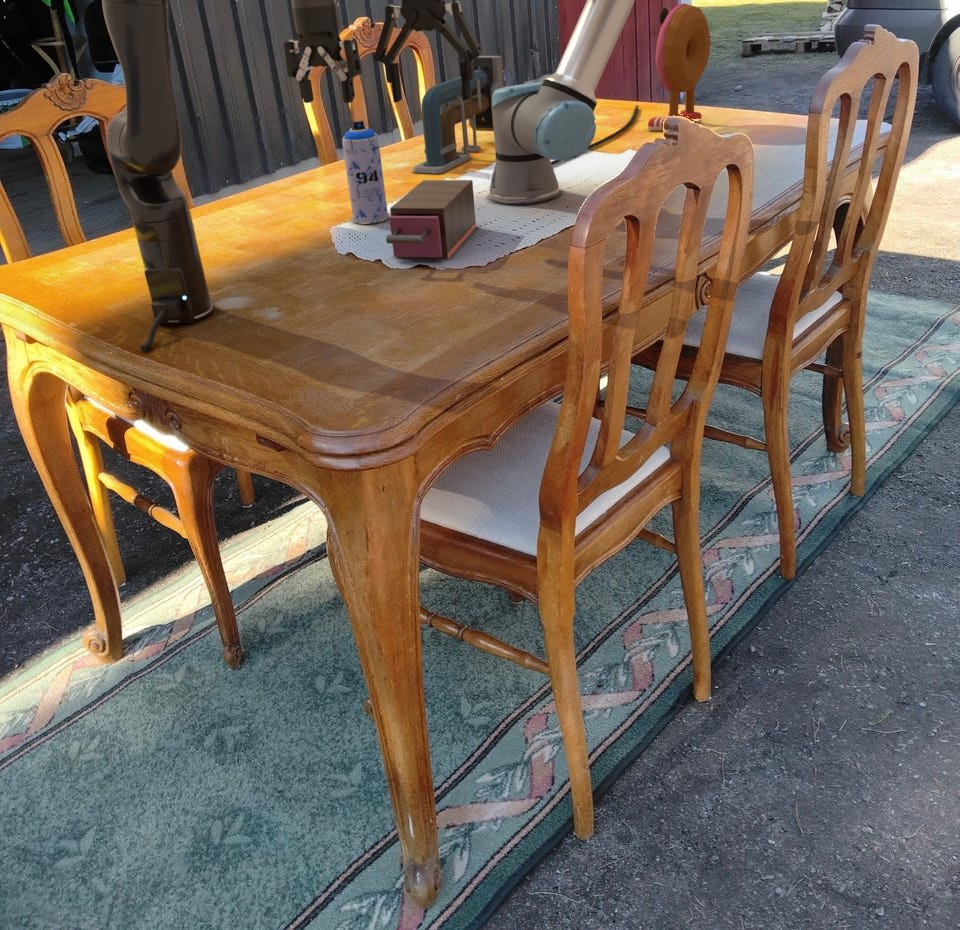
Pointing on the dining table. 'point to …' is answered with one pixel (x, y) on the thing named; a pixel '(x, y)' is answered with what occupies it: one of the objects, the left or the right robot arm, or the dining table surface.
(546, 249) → the dining table surface
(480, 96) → the clamp
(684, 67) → the toy
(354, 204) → the aerosol can
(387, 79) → the right robot arm
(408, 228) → the drawer
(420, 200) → the cabinet
